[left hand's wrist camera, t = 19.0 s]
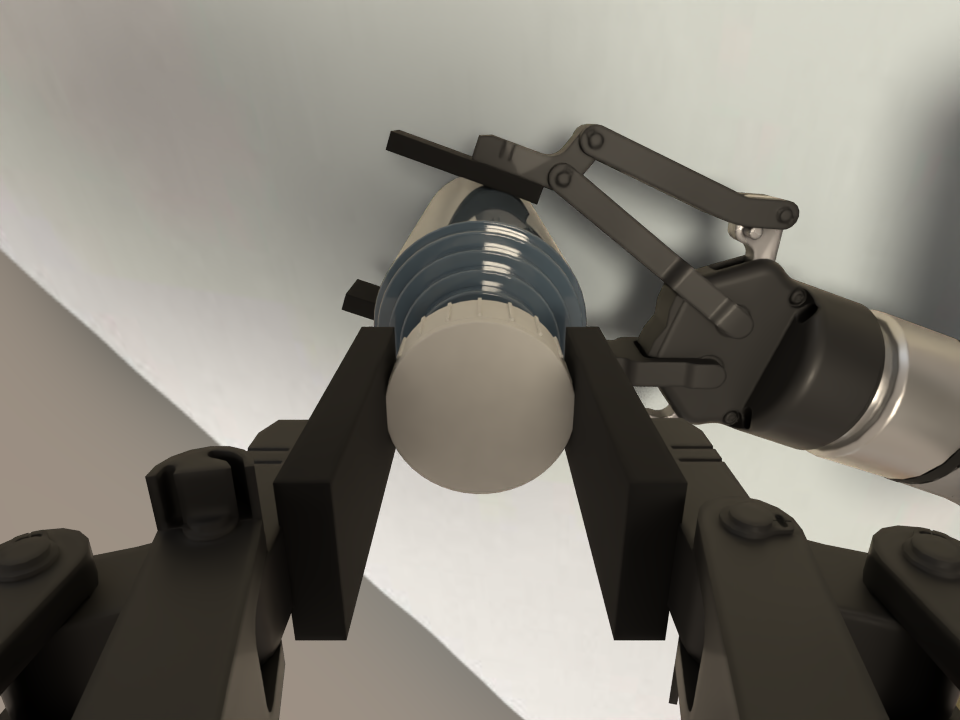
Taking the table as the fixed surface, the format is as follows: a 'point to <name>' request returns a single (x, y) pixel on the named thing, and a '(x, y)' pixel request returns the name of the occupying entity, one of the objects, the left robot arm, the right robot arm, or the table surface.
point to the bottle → (479, 263)
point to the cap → (480, 397)
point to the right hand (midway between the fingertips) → (371, 220)
